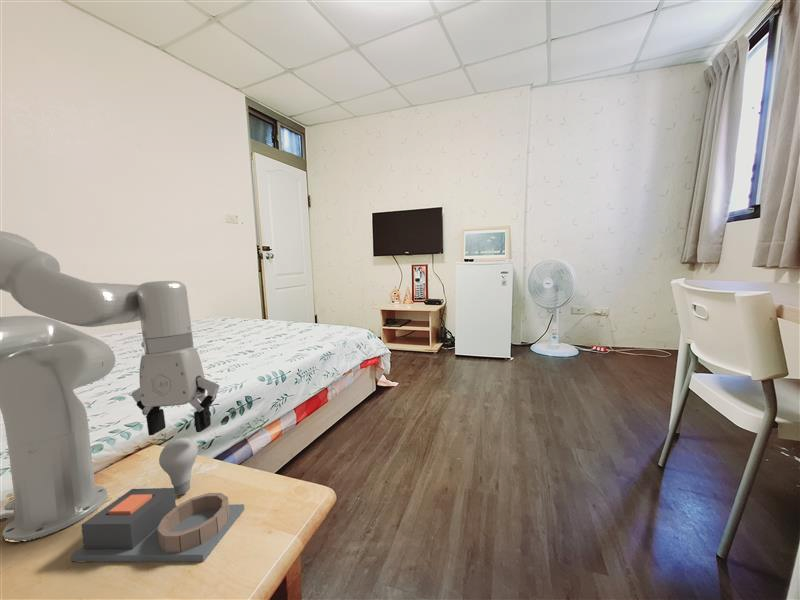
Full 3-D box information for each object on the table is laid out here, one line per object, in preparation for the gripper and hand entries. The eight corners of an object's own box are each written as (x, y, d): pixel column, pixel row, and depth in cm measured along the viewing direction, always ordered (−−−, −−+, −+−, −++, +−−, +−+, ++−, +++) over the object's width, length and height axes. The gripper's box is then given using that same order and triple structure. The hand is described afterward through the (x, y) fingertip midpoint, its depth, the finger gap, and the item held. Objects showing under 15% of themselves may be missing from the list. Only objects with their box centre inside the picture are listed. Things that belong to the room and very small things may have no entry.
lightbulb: (181, 506, 55) (175, 448, 54) (154, 504, 56) (149, 447, 56) (208, 484, 61) (203, 432, 60) (184, 482, 62) (179, 431, 62)
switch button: (110, 535, 47) (108, 511, 47) (133, 517, 51) (131, 494, 51) (133, 535, 47) (130, 511, 47) (154, 516, 51) (152, 494, 50)
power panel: (71, 562, 44) (67, 529, 44) (135, 511, 54) (132, 485, 54) (203, 561, 43) (200, 528, 43) (244, 509, 53) (241, 482, 53)
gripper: (108, 352, 54) (120, 443, 55) (197, 345, 53) (208, 437, 54) (146, 344, 62) (156, 424, 62) (224, 337, 60) (234, 419, 61)
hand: (180, 430), depth 58 cm, fingers open, 9 cm apart
